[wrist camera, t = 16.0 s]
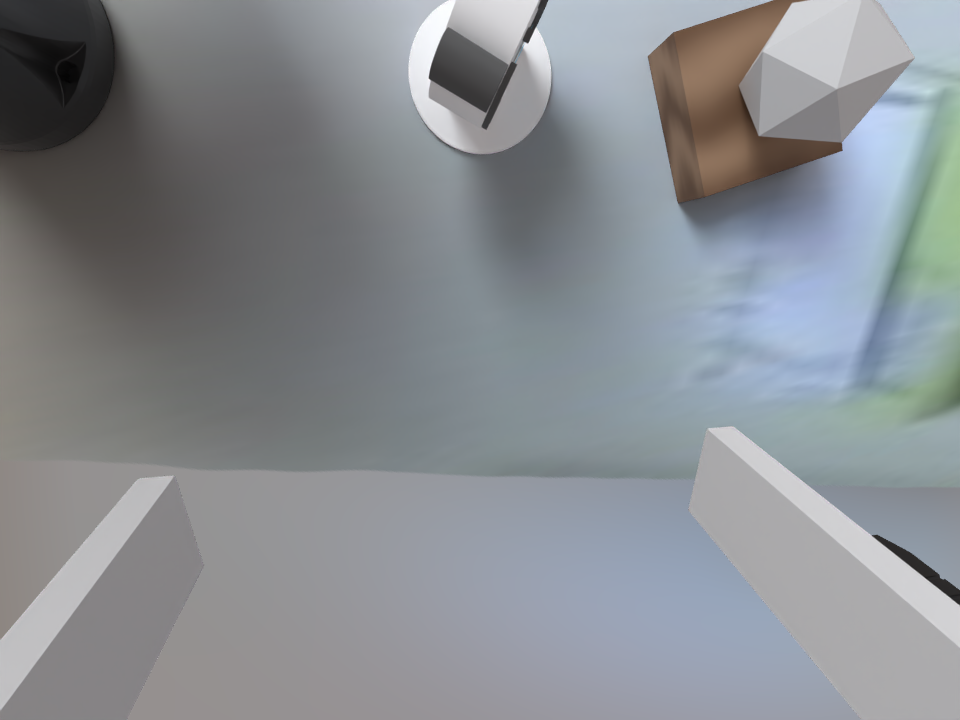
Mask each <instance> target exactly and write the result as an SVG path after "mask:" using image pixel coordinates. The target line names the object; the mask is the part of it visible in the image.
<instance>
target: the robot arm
mask: <svg viewBox="0 0 960 720" xmlns="http://www.w3.org/2000/svg"><path fill="white" fill-rule="evenodd" d="M113 70H114V48H113V40H112V35H111V30H110V27H109V23H108V20H107V17H106V14H105V11H104V9H103V7H102V4H101V2H100V0H0V149H3V150H11V151H33V150H40V149H46V148H50V147H53V146H56V145H59V144H61V143H64V142H66V141H68V140H70V139H71V138H73V137H75V136H76V135H78V134H79V133H80V132H82V131H83V130H84V129H85V128H86V127H87V126H88V125H89V124H90V123H91V122H92V121H93V120H94V119H95V117H96V116H97V115H98V113H99V112H100V110H101V108H102V107H103V105H104V103H105V101H106V98H107V96H108V93H109V90H110V87H111V83H112V78H113ZM688 510H689V512H690V513H691V514H692V515H693V517H694V518H695V519H696V520H697V521H698V522H699V524H700V525H701V526H702V527H703V529H704V530H705V531H706V532H707V533H708V535H709V536H710V537H711V538H712V539H713V541H714V542H715V543H716V544H717V545H718V547H719V548H720V549H721V550H722V552H723V553H724V554H725V555H726V556H727V558H728V559H729V560H730V561H731V562H732V564H733V565H734V566H735V567H736V569H737V570H738V571H739V572H740V573H741V574H742V576H743V577H744V578H745V579H746V580H747V582H748V583H749V584H750V585H751V586H752V588H753V589H754V590H755V591H756V593H757V594H758V595H759V596H760V597H761V599H762V600H763V601H764V602H765V604H766V605H767V606H768V607H769V608H770V610H771V611H772V612H773V613H774V614H775V616H776V617H777V618H778V619H779V621H780V622H781V623H782V624H783V625H784V627H785V628H786V629H787V630H788V631H789V633H790V634H791V635H792V636H793V637H794V639H795V640H796V641H797V642H798V643H799V645H800V646H801V647H802V648H803V649H804V651H805V652H806V653H807V654H808V656H809V657H810V658H811V659H812V660H813V661H814V663H815V664H816V665H817V667H818V668H819V669H820V670H821V671H822V672H823V674H824V675H825V676H826V677H827V678H828V680H829V681H830V682H831V683H832V685H833V686H834V687H835V688H836V689H837V691H838V692H839V693H840V694H841V695H842V697H843V698H844V699H845V700H846V702H847V703H848V704H849V705H850V706H851V708H852V709H853V710H854V711H855V712H856V714H857V715H858V716H859V717H860V719H861V720H960V590H959V589H957V588H956V587H955V586H953V585H952V584H951V583H950V582H948V581H947V580H945V579H944V580H942V579H941V578H940V576H939V574H938V573H936V572H935V571H934V570H933V569H931V568H930V567H929V566H927V565H926V564H924V563H923V562H922V561H921V560H919V559H918V558H917V557H916V556H914V555H913V554H912V553H910V552H908V551H906V550H905V549H903V548H901V547H899V546H897V545H895V544H893V543H892V542H890V541H888V540H886V539H884V538H882V537H880V536H878V535H872V536H871V535H870V534H869V533H867V532H866V531H865V530H863V529H862V528H861V527H860V526H858V525H857V524H856V523H854V522H853V521H852V520H851V519H850V518H848V517H847V516H846V515H845V514H843V513H842V512H841V511H839V510H838V509H837V508H836V507H834V506H833V505H832V504H831V503H829V502H828V501H827V500H826V499H824V498H823V497H822V496H820V495H819V494H818V493H817V492H815V491H814V490H813V489H812V488H810V487H809V486H808V485H807V484H805V483H804V482H803V481H801V480H800V479H799V478H798V477H796V476H795V475H794V474H793V473H791V472H790V471H789V470H788V469H786V468H785V467H784V466H783V465H781V464H780V463H779V462H777V461H776V460H775V459H774V458H772V457H771V456H770V455H769V454H767V453H766V452H765V451H764V450H762V449H761V448H760V447H758V446H757V445H756V444H755V443H753V442H752V441H751V440H750V439H748V438H747V437H746V436H745V435H743V434H742V433H741V432H739V431H738V430H737V429H736V428H734V427H733V426H731V427H719V428H708V429H707V430H706V434H705V439H704V443H703V448H702V452H701V456H700V461H699V465H698V470H697V474H696V478H695V483H694V487H693V492H692V496H691V501H690V505H689V509H688ZM203 566H204V564H203V561H202V558H201V555H200V552H199V549H198V546H197V542H196V539H195V536H194V533H193V530H192V527H191V524H190V521H189V517H188V514H187V511H186V508H185V505H184V502H183V499H182V495H181V492H180V489H179V486H178V483H177V480H176V477H175V475H173V476H162V477H150V478H139V479H137V480H136V482H135V483H134V484H133V485H132V486H131V488H130V489H129V490H128V491H127V492H126V493H125V495H124V496H123V497H122V498H121V499H120V500H119V502H118V503H117V504H116V505H115V506H114V508H113V509H112V510H111V511H110V512H109V513H108V515H107V516H106V517H105V518H104V519H103V520H102V522H101V523H100V524H99V525H98V526H97V527H96V529H95V530H94V531H93V532H92V533H91V534H90V536H89V537H88V538H87V539H86V540H85V541H84V543H83V544H82V545H81V546H80V547H79V549H78V550H77V551H76V552H75V553H74V555H73V556H72V557H71V558H70V559H69V560H68V562H67V563H66V564H65V565H64V566H63V567H62V569H61V570H60V571H59V572H58V573H57V574H56V576H55V577H54V578H53V579H52V580H51V581H50V583H49V584H48V585H47V586H46V587H45V588H44V590H43V591H42V592H41V593H40V594H39V595H38V597H37V598H36V599H35V600H34V601H33V603H32V604H31V605H30V606H29V607H28V608H27V610H26V611H25V612H24V613H23V614H22V615H21V617H20V618H19V619H18V620H17V621H16V622H15V624H14V625H13V626H12V627H11V628H10V630H9V631H8V632H7V633H6V634H5V635H4V637H3V638H2V639H1V640H0V720H127V718H128V716H129V714H130V712H131V710H132V708H133V706H134V704H135V702H136V700H137V698H138V696H139V694H140V692H141V690H142V688H143V686H144V684H145V682H146V680H147V678H148V676H149V674H150V672H151V670H152V668H153V666H154V664H155V662H156V660H157V658H158V656H159V654H160V652H161V650H162V648H163V646H164V644H165V642H166V640H167V638H168V636H169V634H170V632H171V630H172V628H173V626H174V624H175V622H176V620H177V618H178V616H179V614H180V613H181V611H182V609H183V606H184V605H185V602H186V601H187V598H188V596H189V594H190V593H191V591H192V589H193V587H194V585H195V583H196V581H197V578H198V577H199V575H200V573H201V570H202V569H203Z"/></svg>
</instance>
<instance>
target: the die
mask: <svg viewBox="0 0 960 720" xmlns="http://www.w3.org/2000/svg"><path fill="white" fill-rule="evenodd" d="M914 58H915V57H914V56H913V54H912V52H911V51H910V49H909V48H908V46H907V45H906V43H905V41H904V40H903V38H902V37H901V35H900V34H899V32H898V31H897V29H896V27H895V26H894V24H893V23H892V21H891V20H890V18H889V17H888V15H887V13H886V12H885V10H884V9H883V7H882V6H881V4H879V3H878V2H877V1H875V0H808V1H802V2H795V3H792V4H791V6H790V7H789V9H788V10H787V12H786V13H785V15H784V17H783V18H782V20H781V21H780V23H779V24H778V26H777V27H776V29H775V30H774V32H773V34H772V35H771V37H770V38H769V40H768V41H767V43H766V44H765V46H764V47H763V49H762V51H761V52H760V54H759V55H758V57H757V58H756V60H755V61H754V63H753V64H752V66H751V68H750V69H749V71H748V72H747V74H746V75H745V77H744V78H743V80H742V81H741V83H740V85H739V88H740V90H741V93H742V96H743V98H744V101H745V103H746V106H747V108H748V111H749V113H750V116H751V118H752V121H753V123H754V126H755V128H756V131H757V133H758V136H763V137H776V138H789V139H802V140H815V141H828V142H841V143H842V142H843V140H844V139H845V138H846V137H847V136H848V135H849V133H850V132H851V131H852V130H853V129H854V128H855V126H856V125H857V124H858V123H859V122H860V121H861V120H862V118H863V117H864V116H865V115H866V114H867V113H868V111H869V110H870V109H871V108H872V107H873V106H874V105H875V103H876V102H877V101H878V100H879V99H880V98H881V96H882V95H883V94H884V93H885V92H886V91H887V89H888V88H889V87H890V86H891V85H892V84H893V83H894V81H895V80H896V79H897V78H898V77H899V76H900V74H901V73H902V72H903V71H904V70H905V69H906V68H907V66H908V65H909V64H910V63H911V62H912V61H913V59H914Z"/></svg>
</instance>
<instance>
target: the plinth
mask: <svg viewBox="0 0 960 720" xmlns="http://www.w3.org/2000/svg"><path fill="white" fill-rule="evenodd" d="M802 1H808V0H773V1H770V2H767V3H764V4H761V5H758V6H755V7H752V8H748V9H745V10H742V11H739V12H736V13H733V14H730V15H727V16H723V17H720V18H717V19H714V20H711V21H708V22H705V23H701V24H698V25H695V26H692V27H689V28H686V29H683V30H680V31H676V32H673V33H672V34H671V35H670V36H669V37H668V38H667V39H666V40H665V41H664V42H663V43H662V44H661V45H660V46H658V47H657V48H656V49H655V50H654V51H653V52H652V53H651V54H650V55H649V56H648V59H649V64H650V69H651V74H652V79H653V84H654V89H655V94H656V98H657V103H658V108H659V113H660V118H661V123H662V128H663V133H664V137H665V142H666V147H667V152H668V157H669V162H670V167H671V172H672V177H673V181H674V186H675V191H676V196H677V201H678V203H681V202H685V201H690V200H694V199H698V198H702V197H706V196H709V195H712V194H715V193H718V192H721V191H724V190H727V189H730V188H733V187H736V186H739V185H742V184H745V183H748V182H751V181H754V180H757V179H760V178H763V177H766V176H769V175H772V174H775V173H778V172H781V171H783V170H786V169H789V168H792V167H795V166H798V165H801V164H804V163H807V162H810V161H813V160H816V159H819V158H822V157H825V156H828V155H831V154H834V153H837V152H840V151H843V150H842V143H841V142H828V141H815V140H802V139H789V138H776V137H763V136H758V133H757V131H756V128H755V126H754V123H753V121H752V118H751V116H750V113H749V111H748V108H747V106H746V103H745V101H744V98H743V96H742V93H741V90H740V88H739V85H740V83H741V81H742V80H743V78H744V77H745V75H746V74H747V72H748V71H749V69H750V68H751V66H752V64H753V63H754V61H755V60H756V58H757V57H758V55H759V54H760V52H761V51H762V49H763V47H764V46H765V44H766V43H767V41H768V40H769V38H770V37H771V35H772V34H773V32H774V30H775V29H776V27H777V26H778V24H779V23H780V21H781V20H782V18H783V17H784V15H785V13H786V12H787V10H788V9H789V7H790V6H791V4H792V3H795V2H802Z"/></svg>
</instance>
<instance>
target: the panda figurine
mask: <svg viewBox="0 0 960 720" xmlns="http://www.w3.org/2000/svg"><path fill="white" fill-rule="evenodd" d="M547 2H548V0H449V1H447V2H445V3H443V4H442V5H440V6H439V7H438V8H436V9H435V10H434V11H433V12H432V13H431V14H430V15H429V16H428V17H427V18H426V20H425V21H424V22H423V24H422V25H421V27H420V29H419V30H418V32H417V34H416V36H415V39H414V42H413V44H412V48H411V52H410V57H409V84H410V90H411V94H412V98H413V101H414V104H415V106H416V109H417V111H418V113H419V115H420V116H421V118H422V120H423V121H424V123H425V124H426V125H427V127H428V128H429V129H430V130H431V131H432V132H433V133H434V134H435V135H436V136H437V137H438V138H439V139H440V140H442V141H443V142H444V143H446V144H448V145H449V146H451V147H453V148H455V149H458V150H460V151H463V152H467V153H472V154H493V153H498V152H501V151H504V150H507V149H509V148H511V147H513V146H515V145H516V144H518V143H519V142H521V141H522V140H523V139H524V138H525V137H527V135H528V134H529V133H530V132H531V131H532V130H533V129H534V127H535V126H536V125H537V123H538V122H539V120H540V119H541V117H542V115H543V113H544V111H545V108H546V105H547V102H548V99H549V95H550V89H551V65H550V59H549V55H548V51H547V48H546V45H545V43H544V40H543V38H542V36H541V34H540V32H539V31H538V29H537V28H536V26H537V24H538V22H539V20H540V18H541V16H542V13H543V11H544V9H545V7H546V5H547ZM535 15H536V16H535Z"/></svg>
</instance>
